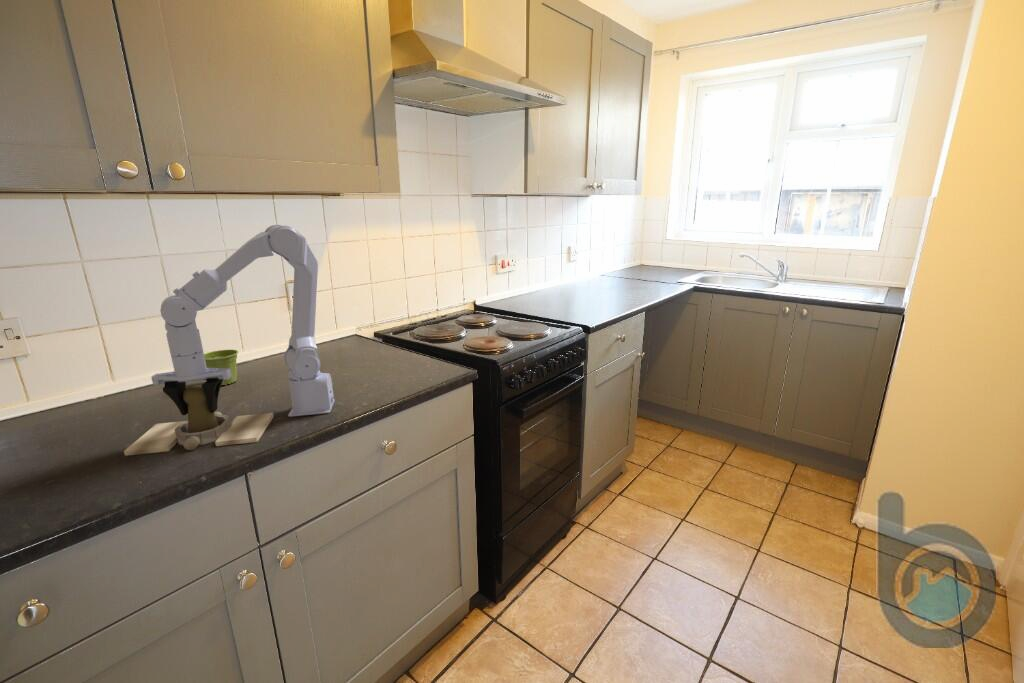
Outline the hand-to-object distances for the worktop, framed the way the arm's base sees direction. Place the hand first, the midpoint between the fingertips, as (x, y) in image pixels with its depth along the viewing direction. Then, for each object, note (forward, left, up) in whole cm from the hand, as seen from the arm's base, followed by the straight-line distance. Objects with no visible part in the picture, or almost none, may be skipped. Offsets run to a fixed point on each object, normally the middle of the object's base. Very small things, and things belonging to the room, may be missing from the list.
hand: (200, 412), depth 104 cm
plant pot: (+8, -35, -6) cm, 36 cm away
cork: (0, -1, -6) cm, 6 cm away
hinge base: (0, 0, -5) cm, 5 cm away
